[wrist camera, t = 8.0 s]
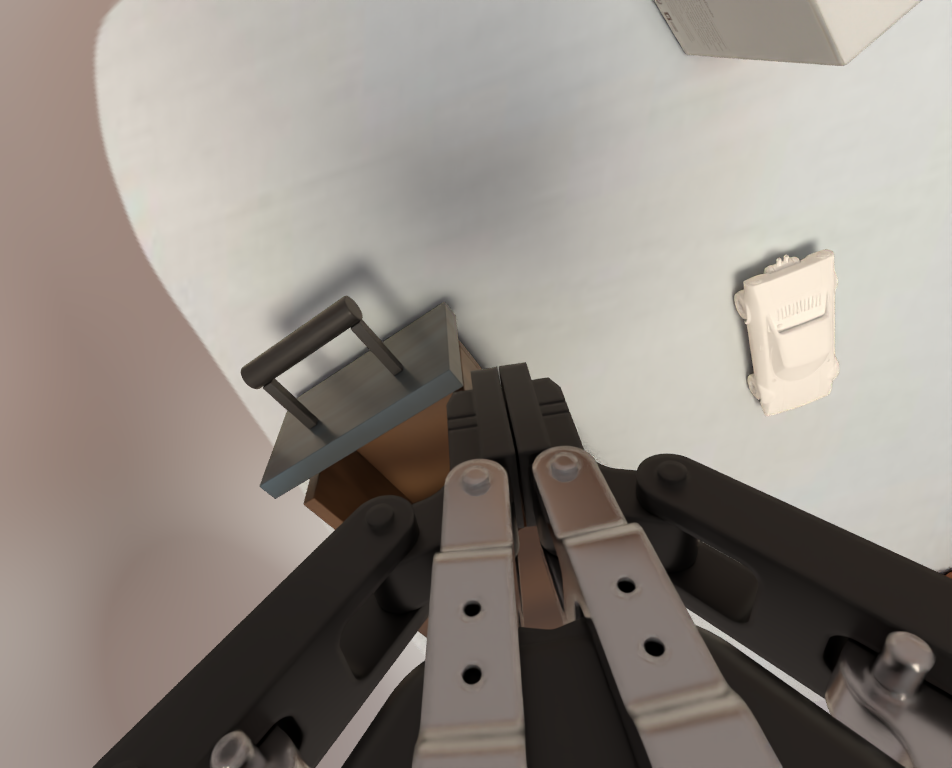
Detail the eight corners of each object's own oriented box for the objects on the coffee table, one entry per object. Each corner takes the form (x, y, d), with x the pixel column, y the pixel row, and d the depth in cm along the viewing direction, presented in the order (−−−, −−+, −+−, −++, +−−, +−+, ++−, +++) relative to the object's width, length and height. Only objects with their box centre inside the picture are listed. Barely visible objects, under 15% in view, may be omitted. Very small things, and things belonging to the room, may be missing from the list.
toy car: (748, 409, 40) (773, 437, 37) (726, 267, 33) (753, 288, 30) (824, 382, 39) (855, 409, 36) (816, 231, 32) (852, 250, 30)
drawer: (231, 349, 33) (183, 428, 26) (393, 234, 30) (383, 291, 23) (415, 516, 42) (413, 606, 35) (553, 441, 39) (579, 524, 32)
